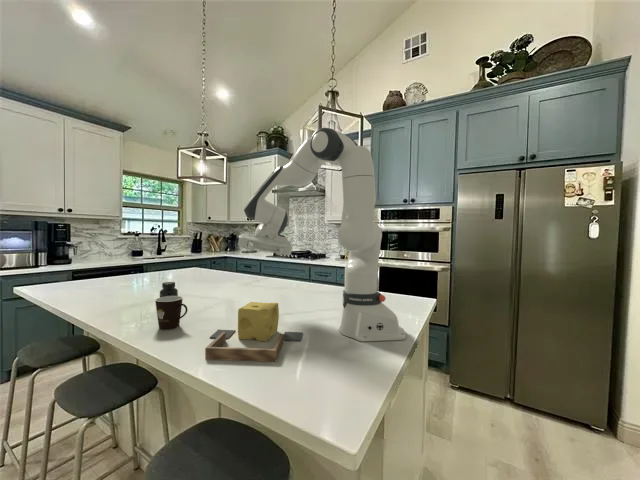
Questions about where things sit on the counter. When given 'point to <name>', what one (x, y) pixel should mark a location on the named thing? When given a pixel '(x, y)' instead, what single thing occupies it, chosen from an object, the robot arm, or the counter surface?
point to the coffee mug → (169, 311)
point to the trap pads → (287, 335)
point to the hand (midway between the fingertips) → (265, 250)
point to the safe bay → (242, 351)
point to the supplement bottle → (168, 289)
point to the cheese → (258, 321)
